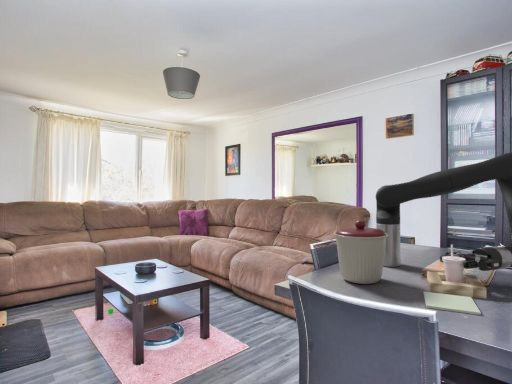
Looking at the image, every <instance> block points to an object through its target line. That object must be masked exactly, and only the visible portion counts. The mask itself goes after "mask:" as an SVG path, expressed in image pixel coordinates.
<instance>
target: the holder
mask: <svg viewBox="0 0 512 384" xmlns="http://www.w3.org/2000/svg"><path fill="white" fill-rule="evenodd" d="M426 280H427V284H428V288H429V292H431V293H440V294H449V295H457V296H466V297H471V298H476V299H484V300H486V299H487V287H486V286H485V285H484V284H483V282H482V281H481V280H480V279H479V277H477V275H473V274H464V273H463V278H462V283H457V282H447V281H446V277H445V272H441V271H440V272H439V271H428V270H427V271H426Z"/></svg>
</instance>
